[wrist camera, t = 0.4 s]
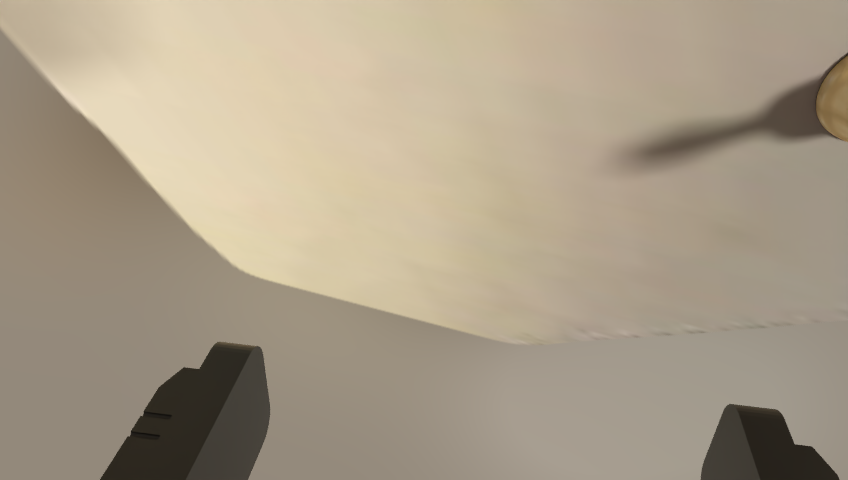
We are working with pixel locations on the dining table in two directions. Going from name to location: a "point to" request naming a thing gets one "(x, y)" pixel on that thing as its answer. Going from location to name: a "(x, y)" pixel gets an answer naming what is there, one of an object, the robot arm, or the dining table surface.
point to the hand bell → (834, 101)
